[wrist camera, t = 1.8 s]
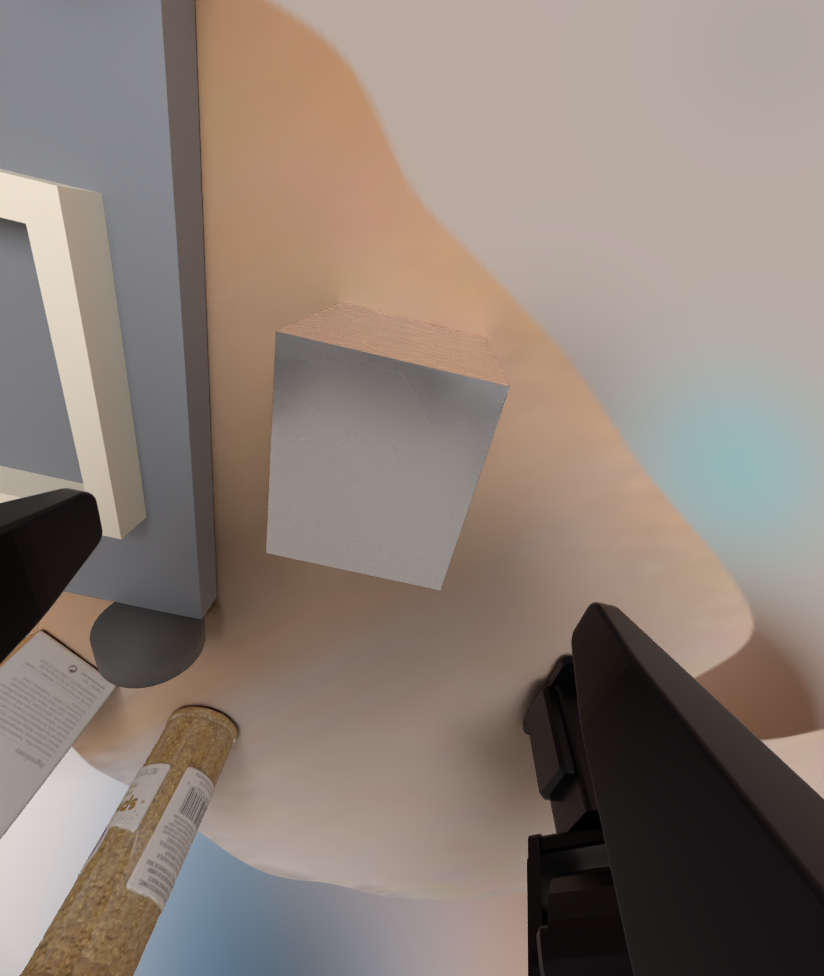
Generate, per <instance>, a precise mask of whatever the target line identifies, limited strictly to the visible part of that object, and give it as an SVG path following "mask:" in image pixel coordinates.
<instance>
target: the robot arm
mask: <svg viewBox="0 0 824 976" xmlns="http://www.w3.org/2000/svg"><path fill="white" fill-rule="evenodd" d="M102 532H103V531H102V525H101V520H100V515H99V510H98V506H97V501H96V498H95V497H94V496H93V495H92V494H91V493H89V492H85V491H80V490H75V489H70V488H62V489H58V490H53V491H49V492H45V493H41V494H37V495H32V496H28V497H24V498H20V499H15V500H11V501H7V502H3V503H0V664H1V663H2V662H3V661H4V660H5V659H6V658H7V657H8V655H9V654H10V653H11V652H12V651H13V650H14V649H15V648H16V647H17V646H18V645H19V643H20V642H21V641H22V640H23V639H24V638H25V637H26V636H27V635H28V634H29V633H30V631H31V630H32V629H33V628H34V627H35V626H36V625H37V624H38V622H39V621H40V620H41V619H42V618H43V617H44V615H45V614H46V613H47V612H48V610H49V609H50V608H51V607H52V605H53V604H54V603H55V601H56V600H57V599H58V597H59V596H60V595H61V593H62V592H63V591H64V589H65V588H66V587H67V585H68V584H69V583H70V582H71V580H72V579H73V578H74V576H75V575H76V574H77V572H78V571H79V570H80V568H81V567H82V566H83V564H84V563H85V562H86V560H87V559H88V558H89V556H90V555H91V554H92V552H93V551H94V550H95V548H96V547H97V546H98V544H99V542H100V540H101V538H102ZM571 643H572V654H573V657H565V658H563V659H561V660H560V662H559V663H558V665H557V667H556V668H555V670H554V672H553V673H552V675H551V676H550V678H549V680H548V681H547V683H546V685H545V686H544V688H543V689H541V691H540V693H539V694H538V696H537V698H536V699H535V701H534V703H533V704H532V706H531V708H530V709H529V711H528V712H527V714H526V717H525V719H524V721H523V730H524V732H525V733H526V734H528V735H530V740H531V746H532V752H533V758H534V763H535V769H536V775H537V781H538V787H539V792H540V794H541V796H542V797H543V799H545V800H550V802H551V807H552V813H553V818H554V823H555V828H556V834H551V835H546V836H542V835H541V834H536V835H531V836H529V837H528V859H527V889H528V976H824V799H823V798H822V797H821V796H820V795H819V794H818V793H817V792H815V791H814V790H813V789H812V788H811V787H810V786H809V785H808V784H807V783H806V782H805V781H804V780H803V779H802V778H800V777H799V776H798V775H797V774H796V773H795V772H794V771H793V770H792V769H791V768H790V767H789V766H788V765H786V764H785V763H784V762H783V761H782V760H781V759H780V758H779V757H778V756H777V755H776V754H775V753H774V752H772V751H771V750H770V749H769V748H768V747H767V746H766V745H765V744H764V743H763V742H762V741H761V740H760V739H758V738H757V737H756V736H755V735H754V734H753V733H752V732H751V731H750V730H749V729H748V728H747V727H746V726H744V725H743V724H742V723H741V722H740V721H739V720H738V719H737V718H736V717H735V716H734V715H733V714H732V713H730V712H729V711H728V710H727V709H726V708H725V707H724V706H723V705H722V704H721V703H720V702H719V701H718V700H716V699H715V698H714V697H713V696H712V695H711V694H710V693H709V692H708V691H707V690H706V689H705V688H703V686H701V685H700V684H699V683H698V682H697V681H696V680H695V679H694V678H693V677H692V676H691V675H690V674H689V673H687V672H686V671H685V670H684V669H683V668H682V667H681V666H680V665H679V664H678V663H677V662H676V661H675V660H673V659H672V658H671V657H670V656H669V655H668V654H667V653H666V652H665V651H664V650H663V649H662V648H661V647H659V646H658V645H657V644H656V643H655V642H654V641H653V640H652V639H651V638H650V637H649V636H648V635H647V634H645V633H644V632H643V631H642V630H641V629H640V628H639V627H638V626H637V625H636V624H635V623H634V622H633V621H632V620H630V619H629V618H628V617H627V616H626V615H625V614H624V613H623V612H622V611H621V610H620V609H618V608H617V607H615V606H612V605H608V604H603V603H598V602H595V603H592V604H590V605H589V607H588V608H587V610H586V611H585V613H584V615H583V616H582V618H581V620H580V621H579V623H578V625H577V626H576V628H575V630H574V632H573V635H572V642H571Z"/></svg>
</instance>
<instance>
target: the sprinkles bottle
mask: <svg viewBox="0 0 824 976" xmlns="http://www.w3.org/2000/svg"><path fill="white" fill-rule="evenodd" d="M237 739H238V732H237V729H236V727H235V725H234V724H233V723H232V722H231V721H230V720H229V718H227V717H226V716H224V715H223V714H222V713H219V712H216V711H213V710H211V709H208V708H204V707H194V706H193V707H185V708H181V709H178V710H176V711H175V712H174V713H173V714H172V715H171V716H170V717H169V718H168V721H167V724H166V727H165V729H164V731H163V733H162V734H161V736H160V738H159V740H158V742H157V743H156V745H155V746H154V748H153V750H152V751H151V753H150V755H149V756H148V758H147V760H146V762H145V764H144V766H143V767H142V768H141V769H140V770H139V772H138V774H137V775H136V777H135V779H134V780H133V782H132V784H131V786H130V787H129V789H128V791H127V793H126V794H125V796H124V798H123V800H122V801H121V803H120V805H119V807H118V808H117V810H116V812H115V814H114V815H113V817H112V819H111V820H110V822H109V824H108V826H107V827H106V829H105V831H104V832H103V834H102V836H101V837H100V839H99V841H98V843H97V844H96V846H95V848H94V850H93V851H92V853H91V854H90V856H89V858H88V860H87V861H86V863H85V865H84V866H83V868H82V870H81V871H80V873H79V875H78V878H77V880H76V882H75V884H74V886H73V888H72V889H71V891H70V893H69V894H68V896H67V897H66V899H65V901H64V903H63V905H62V906H61V908H60V909H59V911H58V913H57V915H56V916H55V918H54V920H53V922H52V923H51V925H50V926H49V928H48V930H47V932H46V933H45V935H44V937H43V940H42V941H41V942H40V944H39V946H38V947H37V948H36V950H35V952H34V954H33V956H32V957H31V959H30V961H29V963H28V964H27V966H26V967H25V969H24V971H23V973H22V974H21V975H20V976H133V975H134V972H135V970H136V968H137V966H138V963H139V961H140V959H141V956H142V954H143V951H144V949H145V946H146V944H147V942H148V940H149V938H150V936H151V934H152V931H153V929H154V927H155V924H156V922H157V920H158V917H159V915H160V914H161V913H162V911H163V909H164V907H165V904H166V902H167V900H168V897H169V895H170V892H171V890H172V888H173V886H174V883H175V881H176V879H177V876H178V874H179V872H180V869H181V867H182V865H183V863H184V860H185V858H186V856H187V853H188V851H189V849H190V846H191V844H192V842H193V839H194V837H195V835H196V832H197V830H198V828H199V825H200V823H201V820H202V818H203V816H204V813H205V811H206V809H207V806H208V804H209V802H210V799H211V797H212V795H213V792H214V787H215V784H216V782H217V780H218V778H219V775H220V773H221V771H222V768H223V766H224V763H225V761H226V759H227V757H228V754H229V752H230V750H231V748H232V747H234V745H235V743H236V741H237Z"/></svg>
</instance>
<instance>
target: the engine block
mask: <svg viewBox="0 0 824 976" xmlns="http://www.w3.org/2000/svg"><path fill="white" fill-rule="evenodd" d="M509 387H510V386H509V384H508V382H507V380H506V378H505V375H504V373H503V371H502V369H501V367H500V365H499V363H498V360H497V358H496V356H495V354H494V352H493V350H492V348H491V346H490V343H489V341H488V339H487V337H483V336H479V335H475V334H471V333H467V332H463V331H458V330H454V329H450V328H446V327H442V326H438V325H433V324H429V323H425V322H421V321H417V320H413V319H409V318H404V317H400V316H396V315H392V314H388V313H384V312H380V311H375V310H371V309H367V308H363V307H359V306H355V305H351V304H346V303H342V302H340V303H338V304H335V305H333V306H331V307H329V308H326V309H324V310H322V311H320V312H317V313H315V314H313V315H311V316H308V317H306V318H304V319H302V320H299V321H297V322H295V323H293V324H291V325H288V326H286V327H284V328H282V329H279V330H277V331H276V340H275V363H274V385H273V408H272V431H271V453H270V476H269V499H268V521H267V544H266V553H268V554H273V555H277V556H282V557H287V558H291V559H296V560H301V561H305V562H310V563H315V564H319V565H324V566H329V567H333V568H338V569H343V570H347V571H352V572H356V573H361V574H366V575H370V576H375V577H380V578H384V579H389V580H394V581H398V582H403V583H408V584H412V585H417V586H422V587H426V588H431V589H435V590H441V587H442V585H443V582H444V579H445V576H446V573H447V570H448V567H449V564H450V561H451V558H452V555H453V552H454V549H455V546H456V543H457V540H458V537H459V534H460V531H461V528H462V526H463V523H464V520H465V517H466V514H467V511H468V508H469V505H470V502H471V499H472V496H473V493H474V490H475V487H476V484H477V481H478V478H479V475H480V472H481V470H482V467H483V464H484V461H485V458H486V455H487V452H488V449H489V446H490V443H491V440H492V437H493V434H494V431H495V428H496V425H497V422H498V419H499V416H500V414H501V411H502V408H503V405H504V402H505V399H506V396H507V393H508V390H509Z"/></svg>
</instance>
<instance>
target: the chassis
mask: <svg viewBox="0 0 824 976" xmlns="http://www.w3.org/2000/svg"><path fill="white" fill-rule="evenodd" d="M62 488H70V489H75V490H80V491H85V492H89V493H91V494H92V495H93V496H94V497H95V498H96V501H97V506H98V510H99V515H100V520H101V525H102V531H103V532H102V538H101V540H100V542H99V544H98V546H97V547H96V548H95V550H94V551H93V552H92V554H91V555H90V556H89V558H88V559H87V560H86V562H85V563H84V564H83V566H82V567H81V568H80V570H79V571H78V572H77V574H76V575H75V576H74V578H73V579H72V580H71V582H70V583H69V584H68V585H67V587H66V588H65V589H64V591H65V592H70V593H74V594H79V595H84V596H89V597H94V598H99V599H104V600H108V601H113V602H114V603H113V604H112V605H110V606H109V607H108V608H106V609H105V610H104V611H103V612H102V613H101V614H100V616H99V617H98V618H97V620H96V621H95V623H94V625H93V627H92V630H91V633H90V642H91V646H92V650H93V654H94V657H95V661H96V665H97V668H98V671H99V673H100V674H101V676H102V677H103V678H104V679H105V680H107V681H108V682H110V683H111V684H114V685H116V686H120V687H124V688H145V687H150V686H154V685H158V684H161V683H163V682H166V681H168V680H170V679H172V678H174V677H176V676H178V675H179V674H181V673H182V672H183V671H185V670H186V669H187V668H188V667H190V666H191V665H192V664H193V663H194V661H195V660H196V659H197V658H198V656H199V655H200V653H201V651H202V649H203V646H204V643H205V622H204V615H205V614H206V612H207V611H208V609H209V608H210V606H211V605H212V603H213V602H214V600H215V599H216V597H217V586H216V559H215V533H214V506H213V479H212V452H211V426H210V399H209V372H208V345H207V319H206V292H205V265H204V238H203V212H202V185H201V158H200V131H199V105H198V78H197V51H196V24H195V0H0V503H3V502H7V501H11V500H15V499H20V498H24V497H28V496H32V495H37V494H41V493H45V492H49V491H53V490H58V489H62Z"/></svg>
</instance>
